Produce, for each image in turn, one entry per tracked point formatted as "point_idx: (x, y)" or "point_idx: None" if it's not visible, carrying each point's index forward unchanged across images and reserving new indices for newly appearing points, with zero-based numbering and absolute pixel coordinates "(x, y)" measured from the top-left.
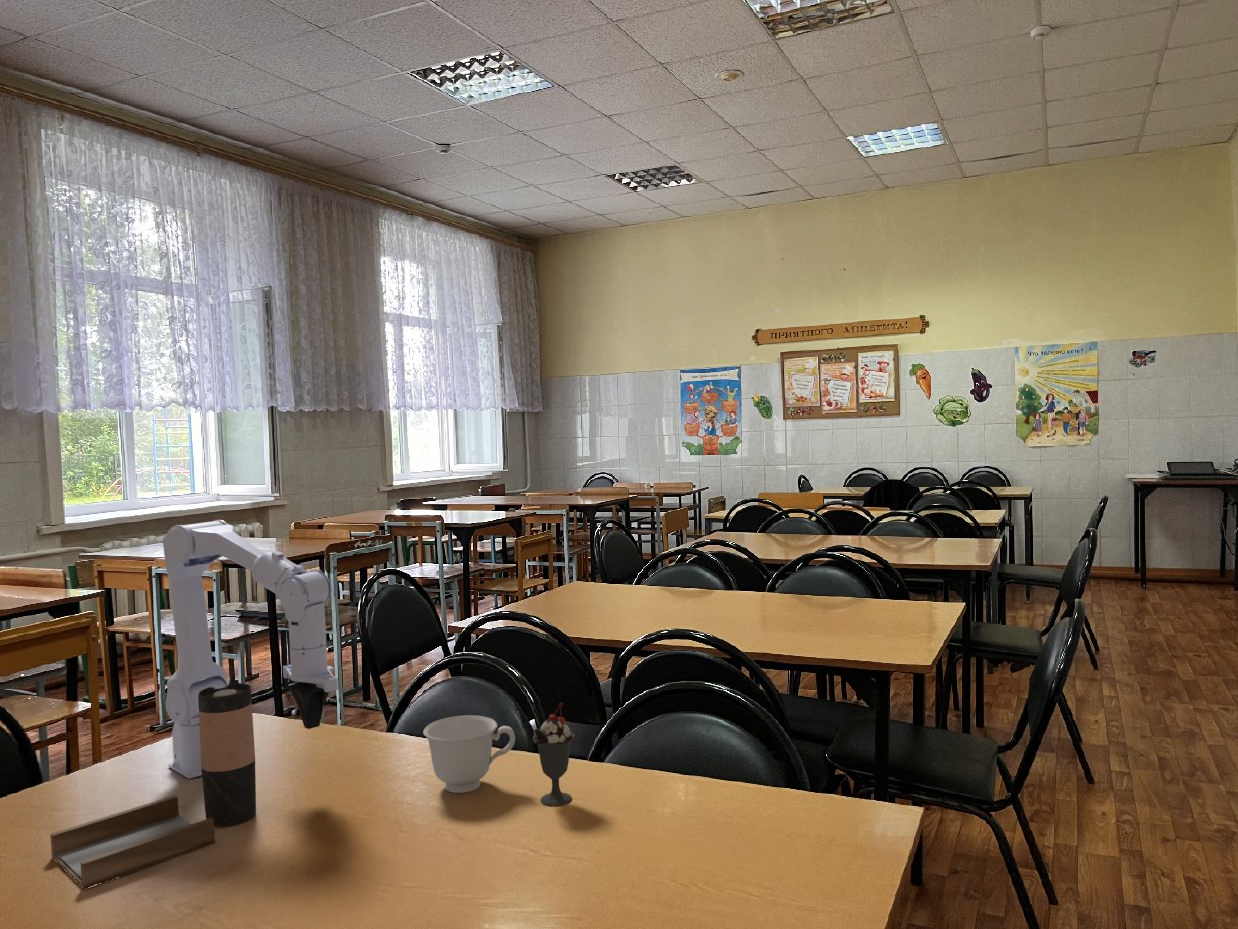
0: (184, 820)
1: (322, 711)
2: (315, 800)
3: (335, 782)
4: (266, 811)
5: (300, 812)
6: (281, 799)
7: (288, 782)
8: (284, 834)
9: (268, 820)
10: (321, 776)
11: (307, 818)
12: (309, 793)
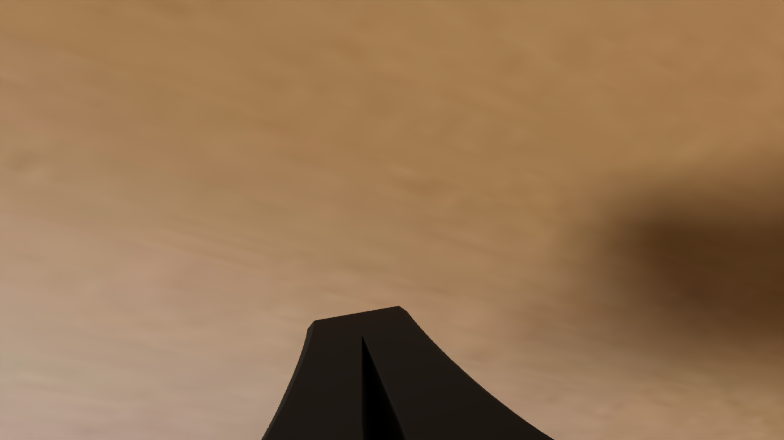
0: None
1: (461, 372)
2: (486, 205)
3: (308, 15)
4: None
5: (568, 305)
6: None
7: (101, 238)
8: (719, 411)
9: None
10: (133, 45)
11: (657, 300)
12: (365, 198)
